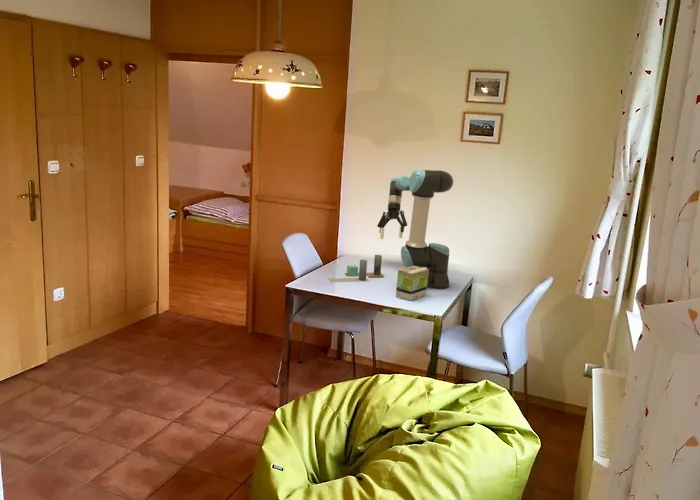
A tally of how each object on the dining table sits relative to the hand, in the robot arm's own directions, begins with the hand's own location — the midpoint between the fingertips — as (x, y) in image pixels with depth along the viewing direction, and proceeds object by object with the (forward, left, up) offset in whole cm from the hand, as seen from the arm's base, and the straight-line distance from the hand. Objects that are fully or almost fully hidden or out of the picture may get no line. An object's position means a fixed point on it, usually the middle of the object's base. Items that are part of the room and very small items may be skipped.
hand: (390, 238), depth 365 cm
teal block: (-12, +26, -19) cm, 34 cm away
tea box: (-49, +5, -20) cm, 53 cm away
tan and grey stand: (-12, +19, -20) cm, 30 cm away
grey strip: (-22, +31, -20) cm, 43 cm away
